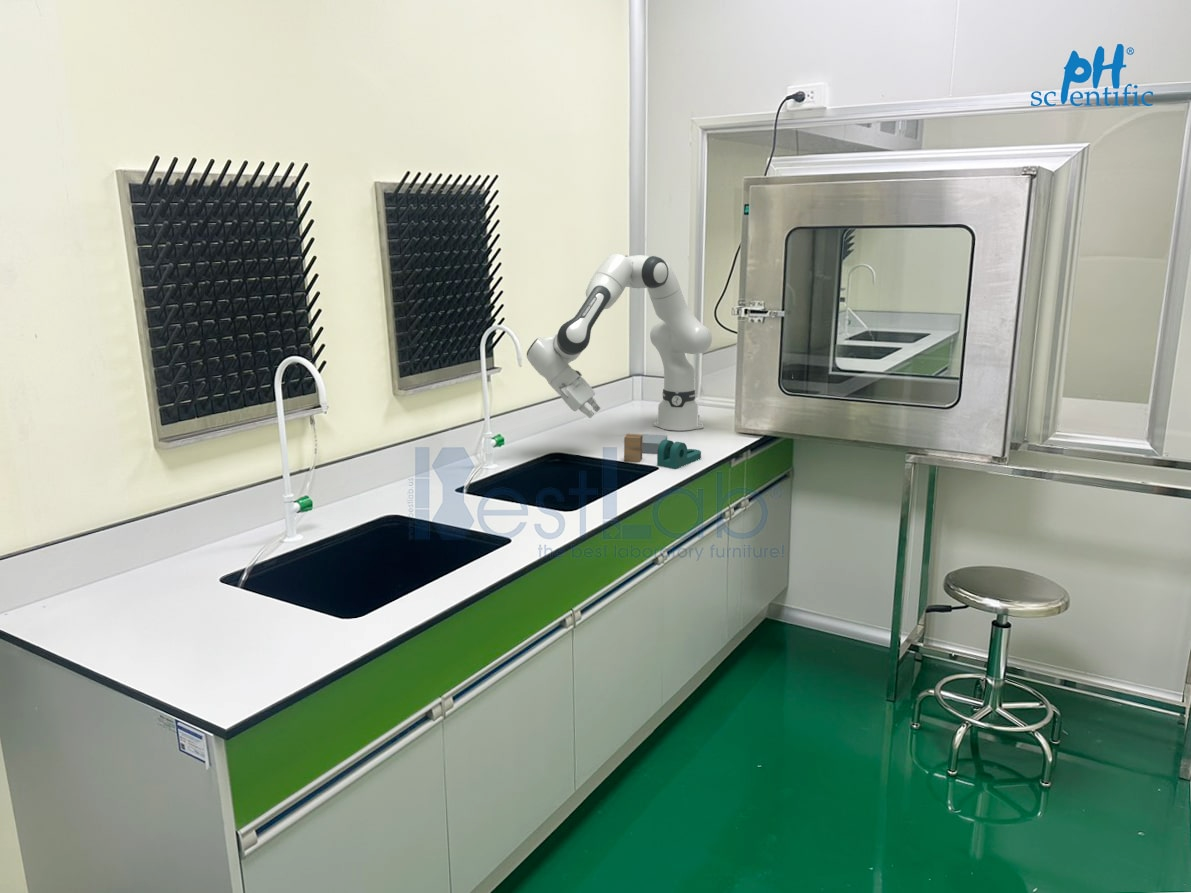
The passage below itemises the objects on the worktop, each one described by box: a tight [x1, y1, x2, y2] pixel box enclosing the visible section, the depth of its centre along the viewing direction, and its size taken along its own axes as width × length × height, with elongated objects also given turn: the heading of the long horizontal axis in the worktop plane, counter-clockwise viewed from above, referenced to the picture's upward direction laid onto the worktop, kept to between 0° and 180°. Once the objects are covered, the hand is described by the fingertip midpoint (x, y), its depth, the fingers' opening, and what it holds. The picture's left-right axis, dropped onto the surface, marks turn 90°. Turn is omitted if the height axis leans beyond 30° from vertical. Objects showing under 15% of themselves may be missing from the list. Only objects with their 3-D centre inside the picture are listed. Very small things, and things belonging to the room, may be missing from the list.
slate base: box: [642, 433, 668, 455], centre depth 291 cm, size 12×12×4 cm
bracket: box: [656, 439, 702, 470], centre depth 275 cm, size 18×7×8 cm, turn 143°
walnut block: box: [623, 433, 643, 463], centre depth 276 cm, size 5×5×8 cm
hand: (595, 413), depth 276 cm, fingers open, 8 cm apart
